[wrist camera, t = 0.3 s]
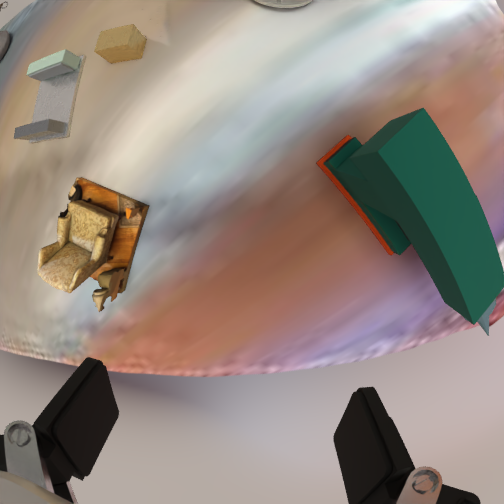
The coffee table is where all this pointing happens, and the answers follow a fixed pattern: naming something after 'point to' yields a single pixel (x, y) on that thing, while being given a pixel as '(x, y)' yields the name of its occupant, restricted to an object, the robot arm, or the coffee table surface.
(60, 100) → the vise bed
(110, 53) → the brass block
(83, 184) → the armchair
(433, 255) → the power tool
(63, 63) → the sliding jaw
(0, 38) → the coffee pot
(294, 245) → the coffee table surface
